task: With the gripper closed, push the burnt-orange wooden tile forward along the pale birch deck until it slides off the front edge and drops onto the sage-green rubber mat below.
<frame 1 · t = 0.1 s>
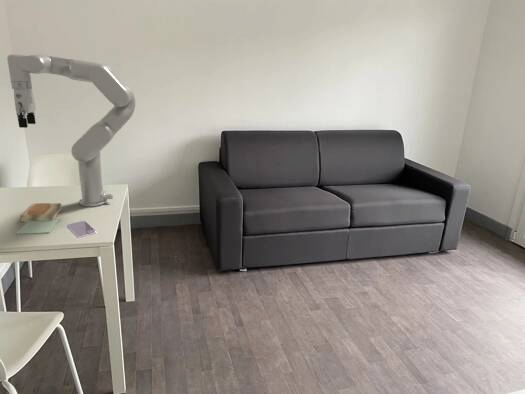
hand: (27, 125, 178), 37 cm above the table, tool pointing down, fingers open, 9 cm apart
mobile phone: (81, 230, 165), on the table
deck: (42, 215, 176), on the table
mat: (38, 227, 165), on the table
tile: (39, 210, 173), point 3 cm above the table, touching deck
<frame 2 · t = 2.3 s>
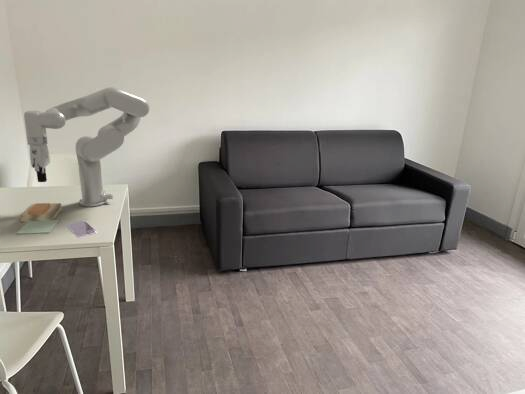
hand: (42, 181, 179), 13 cm above the table, tool pointing down, fingers closed
nothing on the table moved.
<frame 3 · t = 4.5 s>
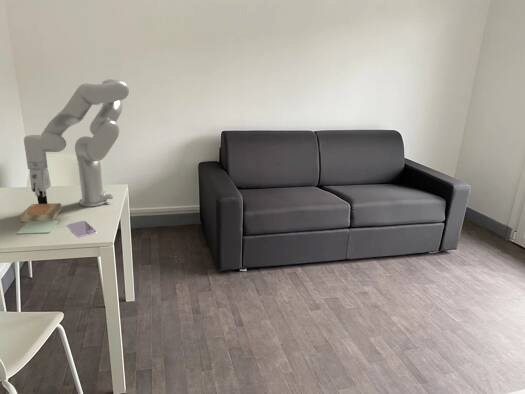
hand: (43, 204, 178), 4 cm above the table, tool pointing down, fingers closed
tile: (39, 211, 173), point 3 cm above the table, touching deck, gripper
everything else where it was.
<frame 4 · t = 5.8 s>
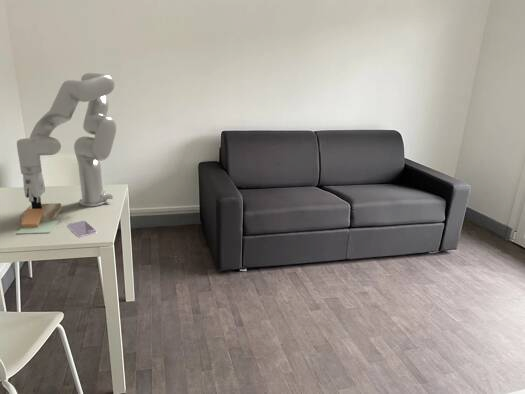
hand: (37, 210, 171), 4 cm above the table, tool pointing down, fingers closed
tile: (33, 219, 167), point 2 cm above the table, tilted 21°, touching gripper
everything else where it was.
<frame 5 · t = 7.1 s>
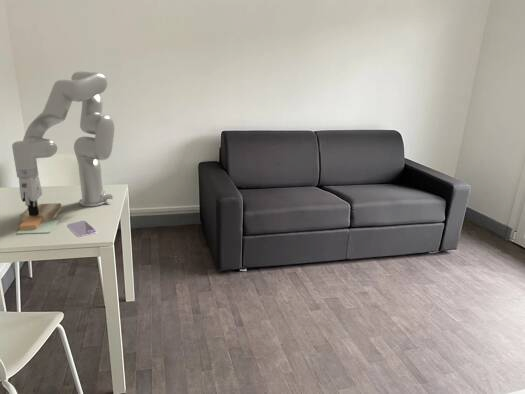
hand: (34, 214, 167), 4 cm above the table, tool pointing down, fingers closed
tile: (31, 225, 165), resting on mat
everything else where it was.
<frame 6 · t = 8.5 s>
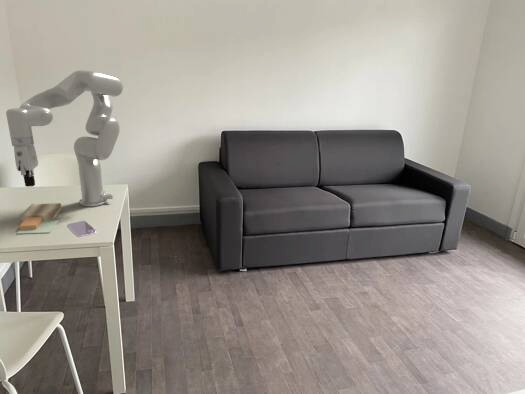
hand: (30, 185, 163), 16 cm above the table, tool pointing down, fingers closed
nothing on the table moved.
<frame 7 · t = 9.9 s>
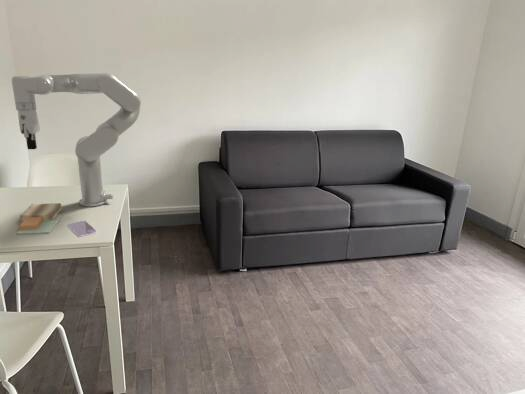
hand: (32, 148, 177), 27 cm above the table, tool pointing down, fingers closed
nothing on the table moved.
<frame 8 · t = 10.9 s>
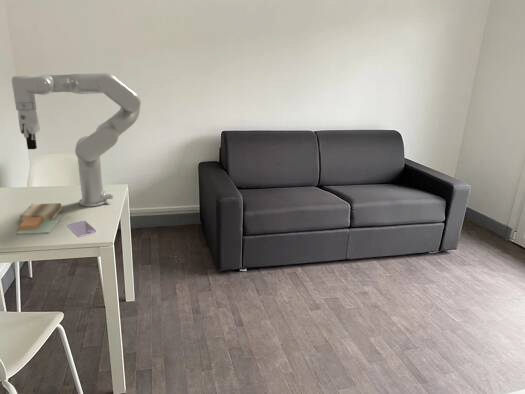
hand: (32, 148, 177), 27 cm above the table, tool pointing down, fingers closed
nothing on the table moved.
at the end: tile resting on mat; tile inside the target area (3.1 cm from its centre), resting on mat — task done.
